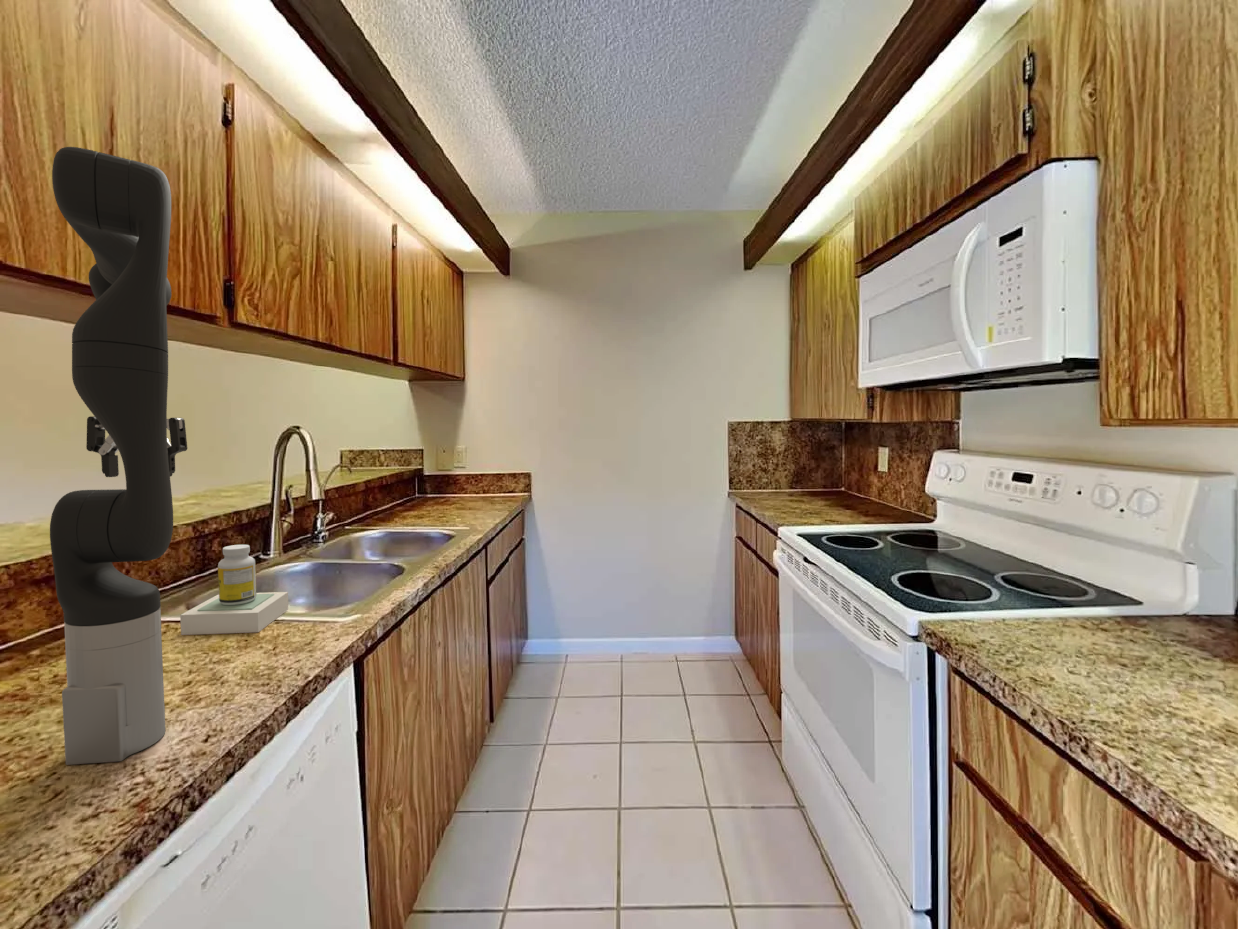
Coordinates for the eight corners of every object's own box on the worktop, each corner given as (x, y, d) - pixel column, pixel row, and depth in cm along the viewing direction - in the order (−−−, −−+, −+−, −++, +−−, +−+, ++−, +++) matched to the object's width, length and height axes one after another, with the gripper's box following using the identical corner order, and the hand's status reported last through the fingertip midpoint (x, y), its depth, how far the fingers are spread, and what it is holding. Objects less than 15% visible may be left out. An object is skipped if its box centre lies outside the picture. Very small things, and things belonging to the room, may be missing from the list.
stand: (258, 632, 113) (257, 611, 112) (181, 635, 111) (180, 613, 110) (288, 609, 127) (287, 590, 126) (219, 611, 124) (219, 592, 124)
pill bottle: (235, 596, 122) (233, 543, 121) (263, 597, 121) (262, 544, 120) (211, 605, 115) (209, 549, 114) (240, 607, 115) (239, 550, 114)
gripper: (193, 386, 102) (196, 475, 103) (105, 383, 100) (109, 474, 101) (167, 383, 95) (170, 479, 96) (71, 380, 93) (75, 478, 94)
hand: (139, 476), depth 99 cm, fingers open, 8 cm apart
